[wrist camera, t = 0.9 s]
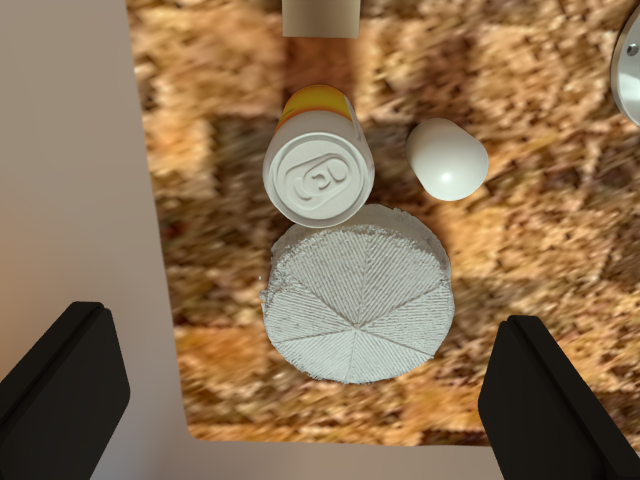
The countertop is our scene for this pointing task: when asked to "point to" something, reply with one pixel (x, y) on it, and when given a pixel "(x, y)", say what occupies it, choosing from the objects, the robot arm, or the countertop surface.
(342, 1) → the maple block
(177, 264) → the countertop surface
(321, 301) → the food container
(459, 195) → the white capsule
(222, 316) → the countertop surface
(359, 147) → the beer can
